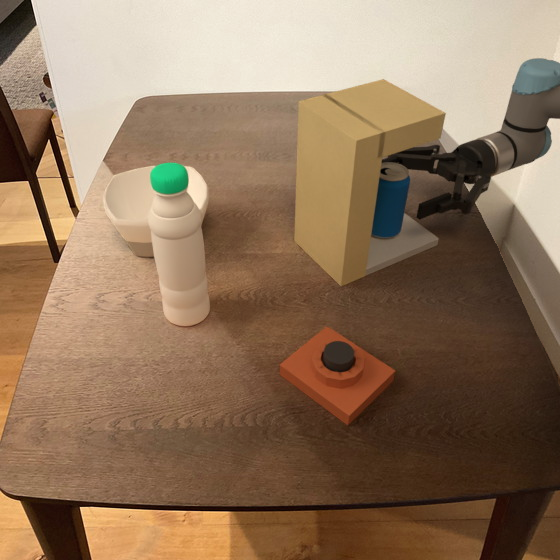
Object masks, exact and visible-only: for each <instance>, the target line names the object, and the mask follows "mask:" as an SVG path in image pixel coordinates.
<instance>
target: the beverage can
mask: <svg viewBox="0 0 560 560" xmlns="http://www.w3.org/2000/svg"><path fill="white" fill-rule="evenodd" d="M410 185H411V176H410V171H409V169H407V168H406V167H405V166H403V165H401V164H398V163H393V162H385V163H381V170H380V177H379V184H378V191H377V198H376V205H375V212H374V219H373V226H372V233H371V234H372V235H373V236H375V237H377V238H383V239H385V238H391V237H394V236H396V235H398V234H399V233H400V232H401V228H402V223H403V217H404V213H405V212H406V205H407V201H408V196H409V189H410Z"/></svg>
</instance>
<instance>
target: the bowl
mask: <svg viewBox="0 0 560 560" xmlns="http://www.w3.org/2000/svg"><path fill="white" fill-rule="evenodd" d="M156 166H157V165H150V166H149V165H148V166H145V167H138V168H133V169H130V170H126V171H123V172H120V173H116V174H114V175H113V176H112V177H111V179H110V180H109V182H108V183H107V185H106V186H105V189H104V193H103V196H102V206H103V208H104V209H103V210H104V212H105V215H106V216H107V217H108V219H109V220H110V222H111V223H112V224H113V226H114V227H115V229H116V231H118V234H119V235H120V236H121V237H122V238H123V240H124V241H125V243H126V245H128V247H129V249H130V250H131V251H132V253H133V254H134V255H135V257H145V258H154V252H153V245H152V236H151V229H150V227H149V224H148V215H149V211H150V209H151V206H152V203H153V200H154V198H155V196H156V193H155V192H154V191H153V188H152V186H151V181H150V173H151V171H152V169H153V168H154V167H156ZM183 166H184V167H185V168H186V170H187V172H188V178H189V183H188V189H187V190H186V192H187V193H188V194H189V195H190V196H191V197H192V199H193V201H194V202H195V204H196V205H197V206H198V208H199V210H200V212H201V219H202V220H201V226H202V225H203V222H204V219H205V215H206V214H207V213H206V212H207V209H208V206H209V202H210V188H209V185H208V184H207V182H206V180H205V178H204V176H203V175H201V174H200V172H198V171H197V170H196V169H195V168H194V167H193V166H191V165H190V166H189V165H183Z"/></svg>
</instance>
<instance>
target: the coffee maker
mask: <svg viewBox="0 0 560 560" xmlns="http://www.w3.org/2000/svg"><path fill="white" fill-rule="evenodd" d="M446 115H447V112H445V111H443V110H441V109H439V108H438V107H435V106H434V105H432V104H430V103H429V102H426V101H425V100H423V99H421V98H420V97H417V96H416V95H415V94H412V93H410V92H408V91H407V90H404V89H403V88H401V87H399V86H397V85H395V84H393V83H392V82H390V81H388V80H386V79H384V78H382V79H378V80H375V81H370V82H366V83H363V84H359V85H355V86H353V87H352V86H351V87H348V88H347V87H346V88H344V89H340V90H336V91H331V92H329V93H325V94H320V95H317V96H312V97H310V98H306V99H302V100H298V117H297V143H296V144H297V145H296V173H295V175H296V176H295V177H296V179H295V205H294V207H295V209H294V212H295V213H294V238H293V240H294V242H295V244H297V245H298V247H299V248H301V250H302V251H304V252H305V253H306V254H307V255H308V256H309V257H310V258H311V259H312V260H313V261H314V262H315V264H317V265H318V266H319V267H320V268H321V269H322V270H323V271H324V272H325V273H326V274H327V275H328V276H329V277H331V279H333V281H334V282H336V284H338V285H339V286H340V287H343V286H345V285H349V284H350V283H352V282H354V281H355V282H356V281H357V280H359V279H362V278H365V277H366V276H370V275H371V274H373V273H376V272H379V271H381V270H383V269H385V268H387V267H390V266H392V265H394V264H397V263H399V262H401V261H404V260H406V259H409V258H411V257H413V256H415V255H418V254H420V253H422V252H425V251H427V250H430V249H432V248H435V247H436V246H438V244H439V239H440V238H439V237H438V236H436V235H435V234H434V233H432V232H431V231H430V230H428V229H427V228H425V227H424V226H423V225H422V224H420V223H419V222H417V221H416V220H415V219H413V218H412V217H411V216H409V214H407V213H405V212H404V217H403V223H402V228H401V232H400V233H399V234H398V235H396V236H394V237H391V238H385V239H383V238H377V237H375V236H373V235H372V234H371V233H372V226H373V219H374V212H375V205H376V198H377V191H378V184H379V177H380V170H381V163H382V159H383V158H386V157H388V155H391V154H395V153H398V152H401V151H404V150H407V149H410V148H413V147H420V146H421V145H424V144H428V143H431V142H434V141H437V140H440V139H441V138H442V133H443V128H444V123H445V119H446Z"/></svg>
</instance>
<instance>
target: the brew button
mask: <svg viewBox="0 0 560 560" xmlns="http://www.w3.org/2000/svg"><path fill="white" fill-rule="evenodd" d="M353 360H354V350H353V348H352V347H351V346H350V345H349V344H348V343H346V342H342V341H333V342H330V343H329V344H327V345H326V347H325V348H324V355H323V362H324V365H325V366H326V367H327V368H328V369H329V370H331V371H334V372H345V371H347V370H349V369H350V368H351V367H352V365H353Z"/></svg>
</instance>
